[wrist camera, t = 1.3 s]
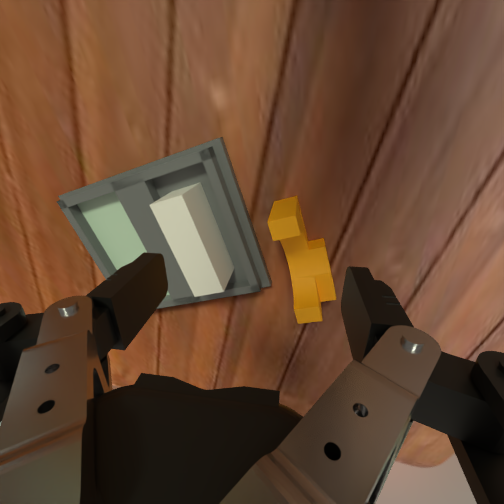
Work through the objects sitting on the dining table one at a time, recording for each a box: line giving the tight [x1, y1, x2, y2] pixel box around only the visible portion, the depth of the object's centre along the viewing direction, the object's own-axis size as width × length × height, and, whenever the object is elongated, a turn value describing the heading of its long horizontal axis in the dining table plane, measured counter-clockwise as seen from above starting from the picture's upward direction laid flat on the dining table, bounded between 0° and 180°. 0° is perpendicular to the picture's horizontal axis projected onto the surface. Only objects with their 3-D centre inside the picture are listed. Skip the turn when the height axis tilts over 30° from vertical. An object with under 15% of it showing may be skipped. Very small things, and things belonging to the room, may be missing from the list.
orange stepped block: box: [267, 196, 336, 324], centre depth 29 cm, size 12×4×6 cm, turn 17°
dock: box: [57, 137, 272, 309], centre depth 31 cm, size 22×18×6 cm
